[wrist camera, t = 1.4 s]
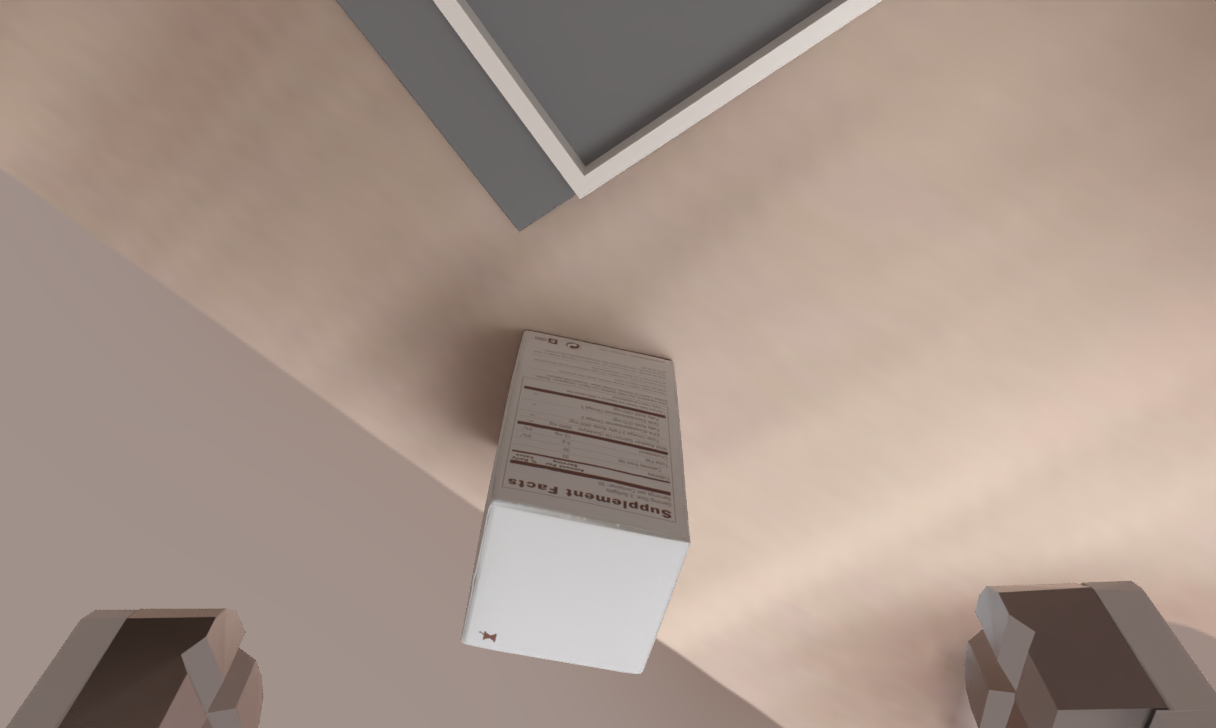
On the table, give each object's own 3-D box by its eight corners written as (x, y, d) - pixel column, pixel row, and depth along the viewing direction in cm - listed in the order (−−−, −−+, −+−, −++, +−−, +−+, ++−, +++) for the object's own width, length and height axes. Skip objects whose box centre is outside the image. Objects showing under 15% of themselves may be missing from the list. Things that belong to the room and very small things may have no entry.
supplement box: (639, 477, 45) (642, 683, 34) (496, 448, 44) (452, 648, 33) (679, 357, 41) (697, 545, 30) (523, 322, 40) (485, 502, 30)
